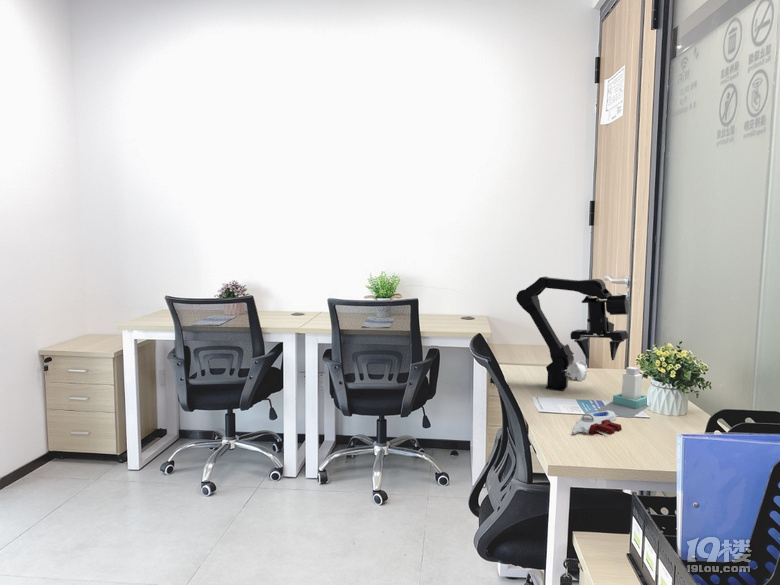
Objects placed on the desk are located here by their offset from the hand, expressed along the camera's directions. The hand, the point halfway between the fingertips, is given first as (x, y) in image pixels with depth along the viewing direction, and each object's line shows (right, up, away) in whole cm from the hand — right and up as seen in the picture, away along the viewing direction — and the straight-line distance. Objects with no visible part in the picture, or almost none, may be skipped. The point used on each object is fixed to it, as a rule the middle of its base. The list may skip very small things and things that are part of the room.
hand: (600, 359), depth 219 cm
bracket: (-11, -18, -38) cm, 43 cm away
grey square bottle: (+6, -13, -13) cm, 19 cm away
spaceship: (-13, -17, -33) cm, 39 cm away
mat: (+3, -15, -16) cm, 22 cm away
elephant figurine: (-2, -10, +23) cm, 25 cm away
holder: (+6, -13, -13) cm, 19 cm away
